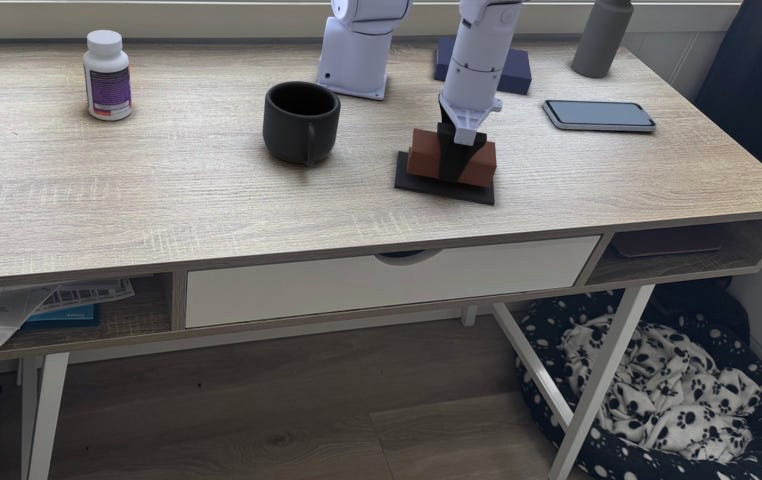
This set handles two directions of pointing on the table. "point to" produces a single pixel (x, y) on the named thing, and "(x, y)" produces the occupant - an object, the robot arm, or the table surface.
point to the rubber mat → (440, 185)
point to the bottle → (602, 37)
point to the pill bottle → (107, 76)
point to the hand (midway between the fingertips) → (447, 166)
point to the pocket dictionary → (428, 157)
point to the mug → (300, 121)
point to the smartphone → (599, 115)
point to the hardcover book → (513, 72)
